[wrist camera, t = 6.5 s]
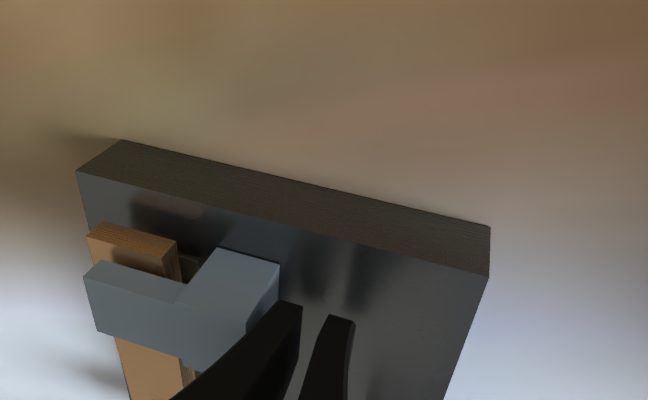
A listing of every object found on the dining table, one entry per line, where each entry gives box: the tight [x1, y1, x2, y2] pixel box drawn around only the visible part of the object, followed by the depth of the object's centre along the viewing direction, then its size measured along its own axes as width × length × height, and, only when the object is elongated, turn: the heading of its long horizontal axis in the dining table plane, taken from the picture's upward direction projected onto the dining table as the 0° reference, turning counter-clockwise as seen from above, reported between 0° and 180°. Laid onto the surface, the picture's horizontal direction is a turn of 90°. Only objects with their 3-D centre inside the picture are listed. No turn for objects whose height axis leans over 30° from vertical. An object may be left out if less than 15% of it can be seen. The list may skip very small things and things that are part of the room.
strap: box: [86, 221, 196, 400], centre depth 16 cm, size 12×2×1 cm, turn 175°
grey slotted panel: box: [75, 140, 491, 400], centre depth 16 cm, size 14×11×4 cm
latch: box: [83, 247, 280, 372], centre depth 13 cm, size 2×4×2 cm, turn 85°
